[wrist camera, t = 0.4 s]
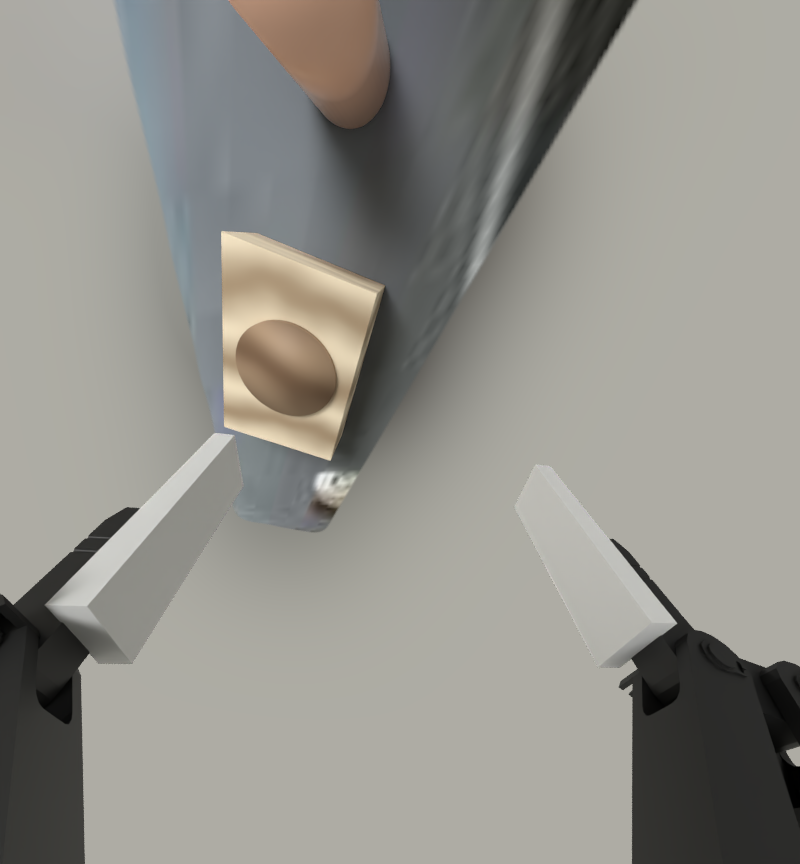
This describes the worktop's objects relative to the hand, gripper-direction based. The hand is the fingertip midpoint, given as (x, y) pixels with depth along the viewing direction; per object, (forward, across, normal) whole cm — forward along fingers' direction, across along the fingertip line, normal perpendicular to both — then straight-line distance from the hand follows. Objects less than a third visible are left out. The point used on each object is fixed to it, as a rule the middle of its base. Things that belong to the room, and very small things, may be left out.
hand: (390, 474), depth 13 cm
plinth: (+24, -9, -2) cm, 26 cm away
